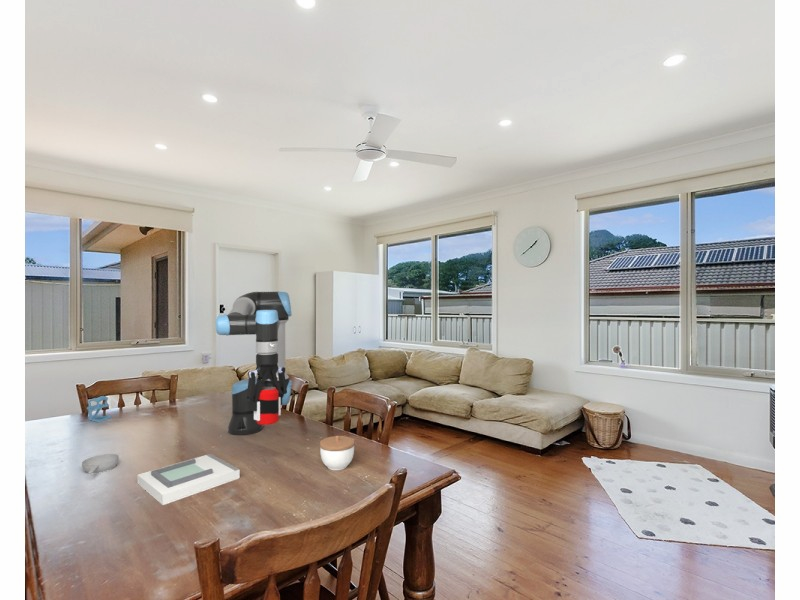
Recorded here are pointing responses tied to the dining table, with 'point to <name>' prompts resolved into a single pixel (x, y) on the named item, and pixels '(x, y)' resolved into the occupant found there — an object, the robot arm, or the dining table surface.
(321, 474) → the dining table surface
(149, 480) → the dock
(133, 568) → the dining table surface
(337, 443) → the lidded bowl
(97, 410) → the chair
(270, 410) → the soda can
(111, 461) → the saucepan
